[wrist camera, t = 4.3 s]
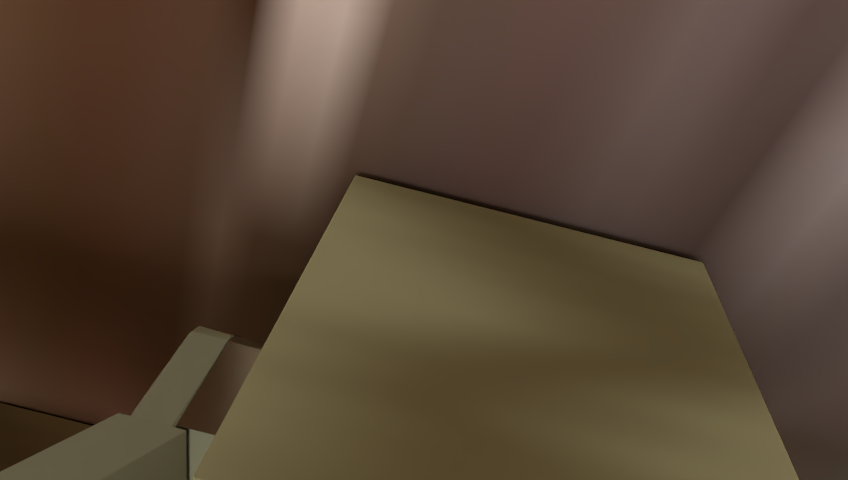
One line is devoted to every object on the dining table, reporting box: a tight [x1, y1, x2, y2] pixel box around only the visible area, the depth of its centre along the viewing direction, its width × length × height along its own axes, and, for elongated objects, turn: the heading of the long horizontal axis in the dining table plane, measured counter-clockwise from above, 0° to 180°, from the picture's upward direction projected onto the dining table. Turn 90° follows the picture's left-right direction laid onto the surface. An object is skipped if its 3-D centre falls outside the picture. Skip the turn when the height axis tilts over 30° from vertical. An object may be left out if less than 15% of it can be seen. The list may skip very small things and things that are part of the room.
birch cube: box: [193, 175, 799, 480], centre depth 8 cm, size 5×5×5 cm
